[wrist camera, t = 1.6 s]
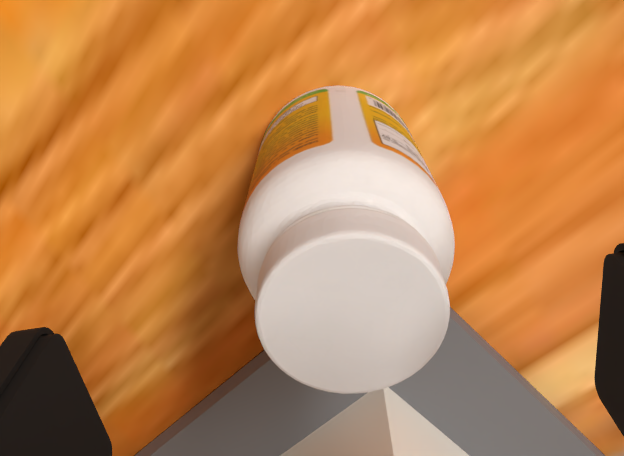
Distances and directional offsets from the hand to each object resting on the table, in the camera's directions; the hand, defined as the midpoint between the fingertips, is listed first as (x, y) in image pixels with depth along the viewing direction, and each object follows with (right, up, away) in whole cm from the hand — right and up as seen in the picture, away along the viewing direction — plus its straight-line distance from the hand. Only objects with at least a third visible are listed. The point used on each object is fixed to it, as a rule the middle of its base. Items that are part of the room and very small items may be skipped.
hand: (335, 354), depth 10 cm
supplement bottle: (0, +5, +10) cm, 11 cm away
